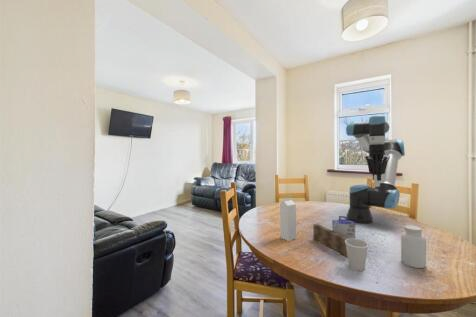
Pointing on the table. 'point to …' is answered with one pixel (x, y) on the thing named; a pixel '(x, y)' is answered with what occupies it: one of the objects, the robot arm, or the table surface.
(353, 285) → the table surface
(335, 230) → the ink cartridge box
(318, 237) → the walnut board
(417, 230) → the pill bottle
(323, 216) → the table surface
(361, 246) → the dixie cup
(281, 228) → the milk
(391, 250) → the table surface
